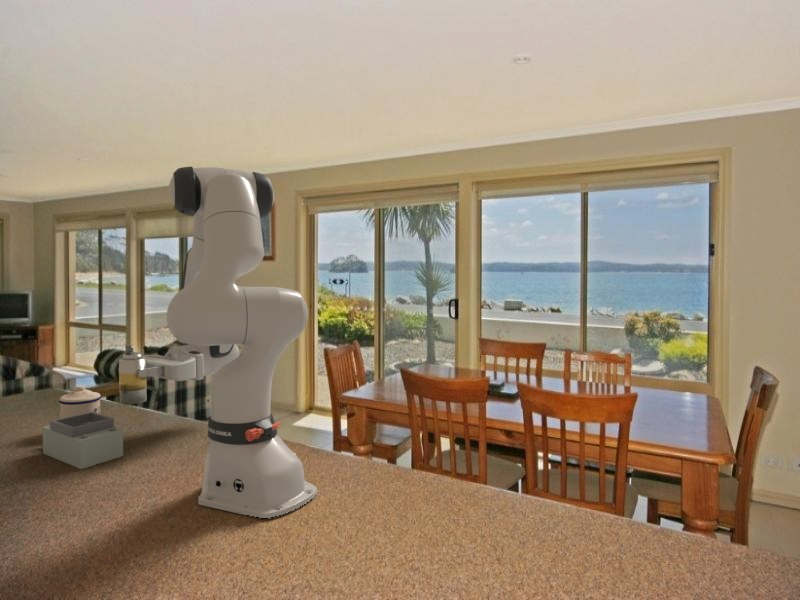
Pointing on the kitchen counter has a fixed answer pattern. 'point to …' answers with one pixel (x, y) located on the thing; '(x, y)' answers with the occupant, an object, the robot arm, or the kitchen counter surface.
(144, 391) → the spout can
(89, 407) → the teacup with lid
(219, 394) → the robot arm
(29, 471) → the kitchen counter surface
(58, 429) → the block
